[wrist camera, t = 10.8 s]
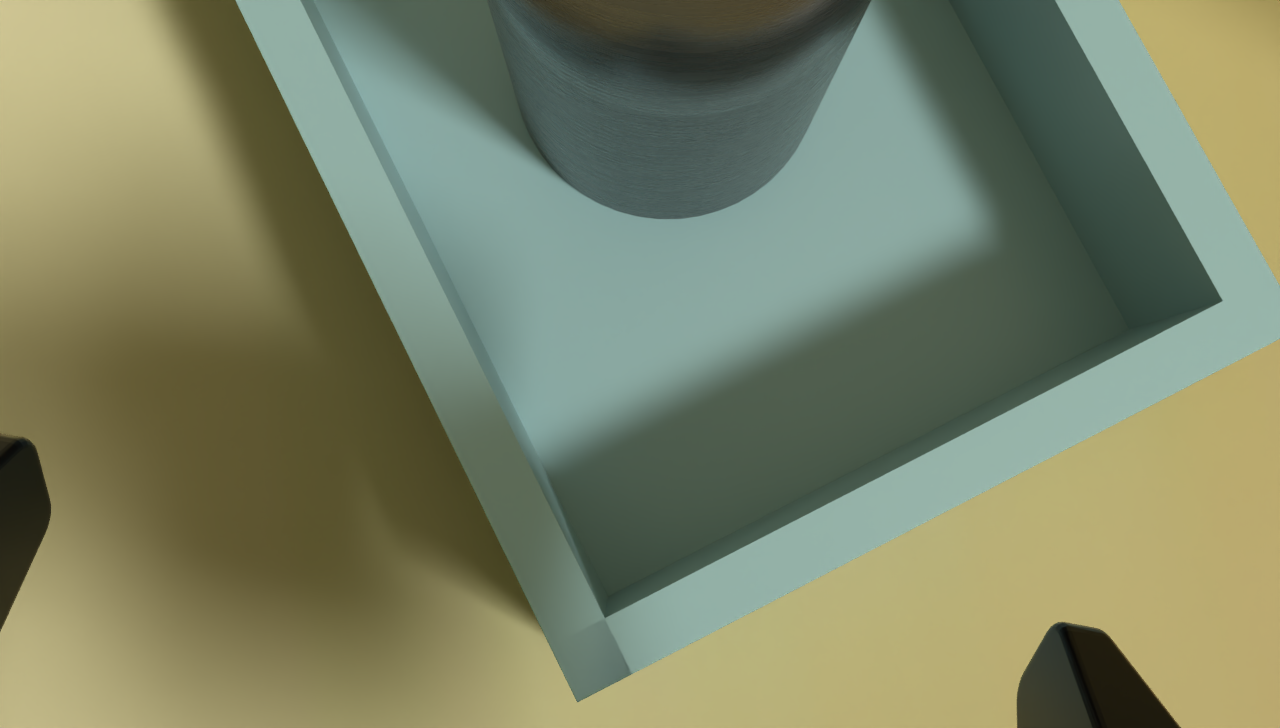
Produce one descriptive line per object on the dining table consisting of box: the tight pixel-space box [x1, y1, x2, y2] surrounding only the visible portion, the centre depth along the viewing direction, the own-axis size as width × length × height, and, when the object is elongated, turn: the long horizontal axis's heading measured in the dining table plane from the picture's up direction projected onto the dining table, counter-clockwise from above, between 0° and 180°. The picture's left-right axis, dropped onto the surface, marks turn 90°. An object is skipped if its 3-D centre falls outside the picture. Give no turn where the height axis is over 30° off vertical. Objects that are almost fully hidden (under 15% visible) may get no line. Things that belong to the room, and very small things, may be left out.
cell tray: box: [236, 0, 1280, 702], centre depth 18 cm, size 16×11×4 cm
